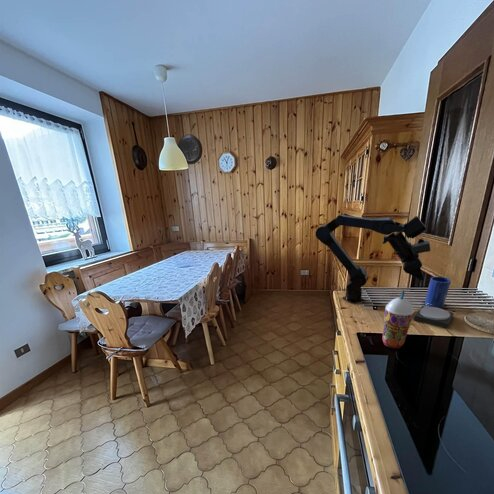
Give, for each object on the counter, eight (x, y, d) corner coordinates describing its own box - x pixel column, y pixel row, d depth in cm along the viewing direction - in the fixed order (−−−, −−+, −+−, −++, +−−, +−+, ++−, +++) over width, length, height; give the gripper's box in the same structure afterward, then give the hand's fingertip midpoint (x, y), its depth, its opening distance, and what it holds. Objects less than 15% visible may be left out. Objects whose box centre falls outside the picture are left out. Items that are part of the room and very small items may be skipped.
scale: (413, 320, 111) (415, 313, 110) (421, 310, 118) (422, 304, 117) (446, 328, 104) (448, 321, 103) (452, 317, 112) (454, 310, 110)
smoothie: (379, 348, 96) (389, 294, 86) (379, 336, 102) (388, 284, 93) (407, 352, 93) (420, 297, 84) (404, 339, 99) (417, 286, 90)
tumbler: (421, 303, 124) (427, 278, 119) (431, 299, 126) (438, 275, 121) (436, 309, 118) (443, 283, 113) (447, 305, 120) (454, 280, 115)
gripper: (424, 238, 102) (447, 273, 103) (419, 228, 117) (439, 258, 119) (394, 256, 108) (416, 288, 110) (392, 244, 123) (412, 272, 125)
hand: (421, 276), depth 116 cm, fingers open, 9 cm apart
